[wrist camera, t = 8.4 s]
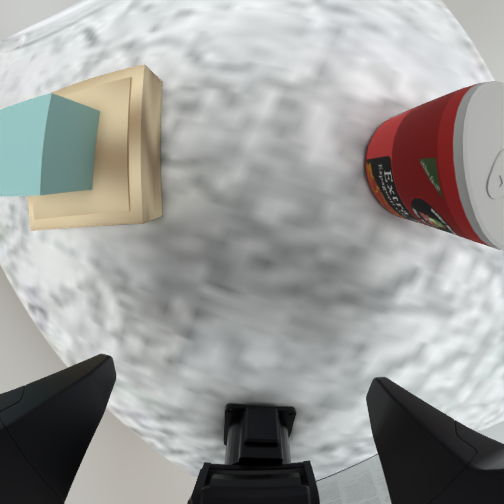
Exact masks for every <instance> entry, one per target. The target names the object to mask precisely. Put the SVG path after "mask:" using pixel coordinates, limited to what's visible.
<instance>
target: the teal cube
mask: <svg viewBox="0 0 504 504" xmlns="http://www.w3.org/2000/svg"><path fill="white" fill-rule="evenodd" d="M99 116H100V111H99V110H96V109H94V108H91V107H88V106H86V105H83V104H81V103H78V102H75V101H72V100H70V99H67V98H64V97H61V96H59V95H56V94H53V93H50V94H47V95H43V96H40V97H36V98H33V99H30V100H27V101H24V102H21V103H18V104H15V105H12V106H9V107H7V108H4V109H1V110H0V196H40V195H48V194H56V193H65V192H74V191H84V190H92V184H93V168H94V156H95V146H96V137H97V129H98V122H99Z"/></svg>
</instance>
